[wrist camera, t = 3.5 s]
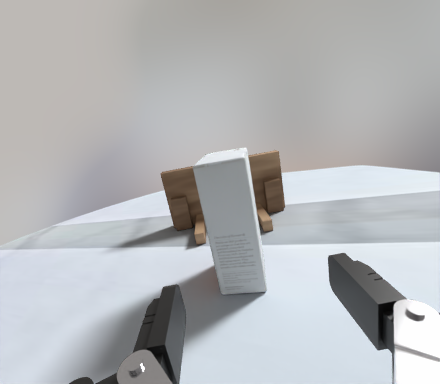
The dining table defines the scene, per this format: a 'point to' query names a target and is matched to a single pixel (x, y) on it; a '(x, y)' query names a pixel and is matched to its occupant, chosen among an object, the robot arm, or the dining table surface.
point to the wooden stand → (190, 202)
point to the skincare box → (231, 220)
